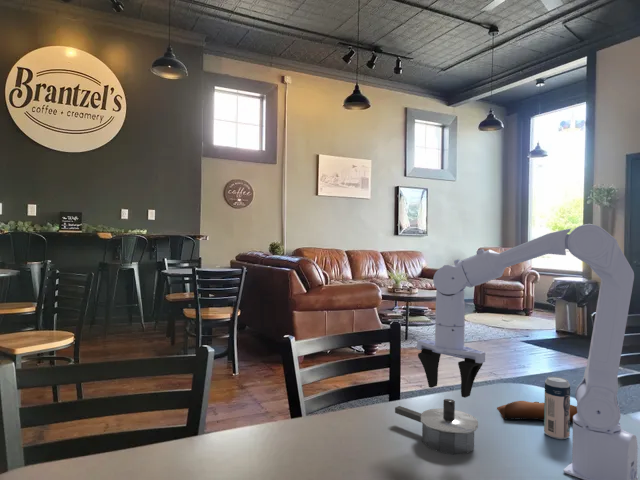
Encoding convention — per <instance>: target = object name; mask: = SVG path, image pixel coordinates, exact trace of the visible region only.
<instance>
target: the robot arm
mask: <svg viewBox="0 0 640 480" xmlns="http://www.w3.org/2000/svg"><path fill="white" fill-rule="evenodd" d="M571 229H572V228H566V229H561V230H558V231H553V232H550V233H546V234H543V235H540V236H539V237H536V238H534V239H531V240H529V241H527V242H524V243H521V244H519V245H516V246H514V247H511V248H509V249H507V250H504V251H502V252H497V251H495V250H493V249H487V250H485V249H484V248H482V249H479V250H478V249H477V250H476V254H475V255H472V256H469V257H466V258H463V259H459V258H458V259H455V260H453V263H454V264H452V265H451V264H444V265H442V267H439V268H438V269H437V270H436V271H435V273H434V274H433V278H432V279H433V285H434V288H435V289H436V293H435V297H436V298H435V299H436V300H435V319H434V320H435V328H434V329H435V333H434V337H435V338H434V340H431V339H430V340H427V339H418V340H416V349H417V350H418V351H420V352H418V353H417V358H418V359H419V360H420V363H421V364H422V367H423V370H424V373H425V376H426V381H427V385H428V388H435V387H437V386H438V381H439V380H438V379H439V364H440V359H441V355H444V356H450V357H454V358H459V359H462V361H458V362H457V365H458V368H459V373H460V394H461V398H468V397H470V396H471V393H472V392H471V391H472V388H473V385H474V382H475V379H476V378H477V375H478V373H479V371H480V369H481V367H482V366H483V363H485V362H486V351H483V350H478V349H475V348H471V347H468V346H466V345H465V324H466V323H465V317H466V316H465V315H466V313H465V312H466V311H465V310H466V307H465V306H466V303H465V289H466V288H467V287H468V288H474V287H477V286H480V285H482V284H486V283H488V282H491V281H493V280H497V279H498V278H501V277H503V275H504V272H505V270H506V269H507V268H509V267H513V266H515V265H517V264H521V263H524V262H528V261H529V260H533V259H536V258H539V257H542V256H544V255H545V256H546V255H558V256H566V255H567V253H566V250H568V252H570V254H571V255H572V256H573V257H575V258H577V259H579V260H580V261H581V262H583V263H584V264H586V265H588V266H589V268H590V269H591V270H592V271H593V273H595V275H596V276H597V277H598V278H599V279H600V285H599V292H598V297H597V303H596V308H595V309H596V310H595V316H594V321H593V326H592V327H593V328H592V333H591V338H590V339H591V340H590V345H589V349H588V350H589V351H588V356H587V357H588V358H587V364H586V366H585V370H584V375H583V378H582V380H581V382H580V383H578V385H577V386H576V388H575V391H574V397H575V400H576V403H577V404H576V406H577V414H575V415H574V416H573V422H572V454H571V456H572V458H571V459H572V460H571V461H572V462H571V463H569V464H568V465H567V466H566V467H564V468H563V473H565V474H567V475H570V476H573V477H575V478H578V479H581V480H639V476H638V450H639V449H638V438H637V436H636V435H635V434H634V433H632V432H628V431H626V430H624V429H623V428H621V426H622V425H621V423H620V420H621V410H620V407H619V404H618V401H617V399H618V392H619V391H618V389H619V388H618V386H619V385H618V384H619V383H618V380H619V379H618V375H619V369H620V363H621V362H620V361H621V357H622V351H623V345H624V340H625V333H626V328H627V322H628V317H629V309H630V303H631V297H632V291H633V286H634V280H635V273H634V270H633V268H632V266H631V265H630V263H629V261H628V259H627V257H626V255H625V254H624V252H623V251H622V248H621V247H620V244H619V242H618V240H617V239H616V238H615V237H614V236H613V235H611V234H610V233H609V232H608V231H607V230H605V229H604V228H603V227H601V226H599V225H598V224H594V223H593V224H591V223H587V224H581V225H579V226H577V227H575V228H573V230H572V231H571Z"/></svg>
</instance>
